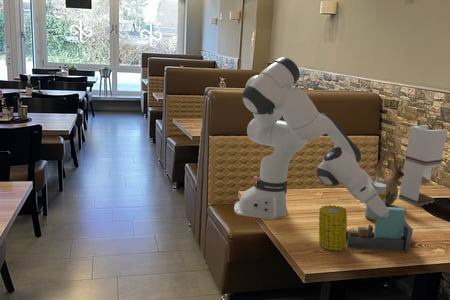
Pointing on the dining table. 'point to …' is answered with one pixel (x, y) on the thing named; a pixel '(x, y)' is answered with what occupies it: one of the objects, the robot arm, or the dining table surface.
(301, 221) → the dining table surface
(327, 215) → the food
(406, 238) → the rack
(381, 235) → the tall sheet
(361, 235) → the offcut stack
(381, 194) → the bottle
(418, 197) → the white model tower
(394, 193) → the ceramic vessel
